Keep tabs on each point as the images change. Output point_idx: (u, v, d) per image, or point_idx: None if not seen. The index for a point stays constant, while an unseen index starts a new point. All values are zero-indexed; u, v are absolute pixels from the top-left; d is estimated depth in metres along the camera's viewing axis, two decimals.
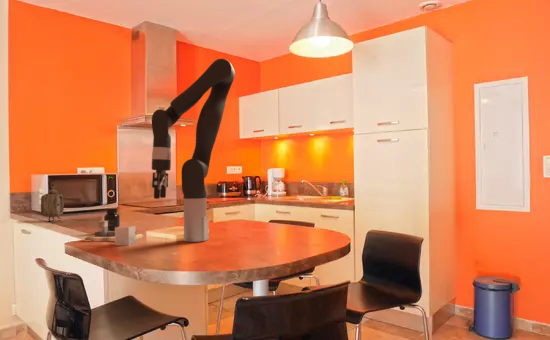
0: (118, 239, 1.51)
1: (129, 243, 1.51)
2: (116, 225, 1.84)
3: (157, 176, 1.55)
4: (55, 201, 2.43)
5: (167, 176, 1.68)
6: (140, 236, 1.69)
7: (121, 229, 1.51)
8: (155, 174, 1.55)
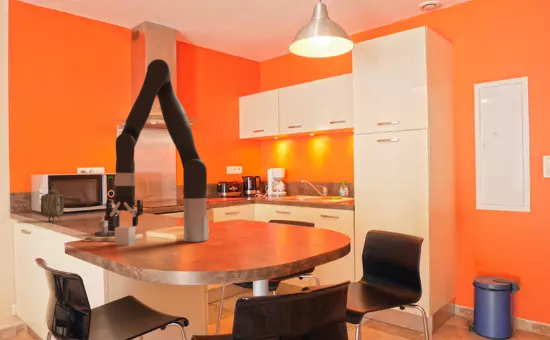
0: (118, 239, 1.51)
1: (129, 243, 1.51)
2: (116, 225, 1.84)
3: (142, 203, 1.54)
4: (55, 201, 2.43)
5: None
6: (140, 236, 1.69)
7: (121, 229, 1.51)
8: (141, 201, 1.53)
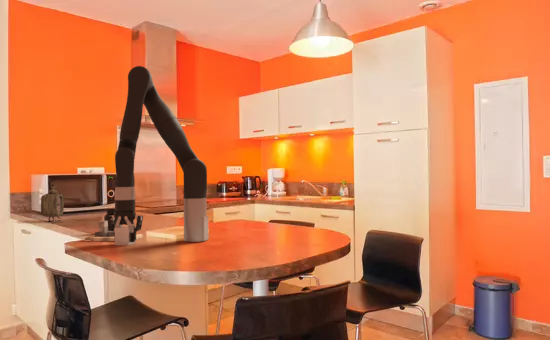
0: (118, 239, 1.51)
1: (129, 243, 1.51)
2: None
3: (142, 219, 1.54)
4: (55, 201, 2.43)
5: None
6: (140, 236, 1.69)
7: (121, 229, 1.51)
8: (141, 217, 1.53)
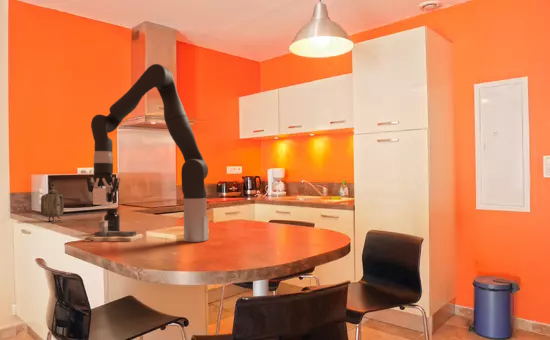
0: (96, 199, 1.64)
1: (106, 203, 1.65)
2: (116, 225, 1.84)
3: (118, 181, 1.67)
4: (55, 201, 2.43)
5: None
6: (140, 236, 1.69)
7: (99, 190, 1.64)
8: (118, 179, 1.66)
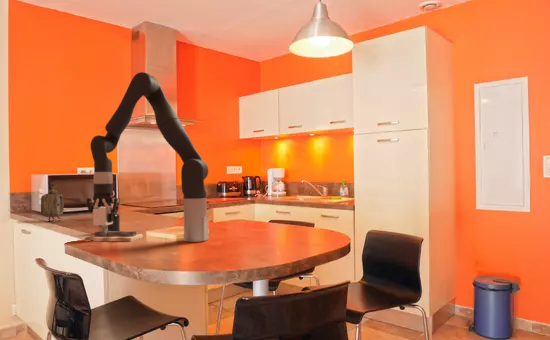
0: (96, 219, 1.65)
1: (106, 223, 1.65)
2: (116, 225, 1.84)
3: (118, 201, 1.68)
4: (55, 201, 2.43)
5: None
6: (140, 236, 1.69)
7: (99, 210, 1.65)
8: (118, 200, 1.67)
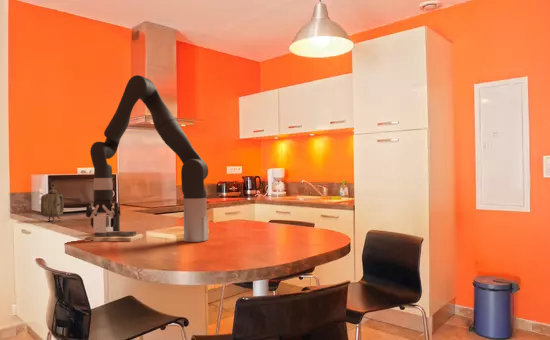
0: (96, 227, 1.65)
1: (106, 230, 1.65)
2: (116, 225, 1.84)
3: (119, 206, 1.68)
4: (55, 201, 2.43)
5: None
6: (140, 236, 1.69)
7: (99, 218, 1.65)
8: (118, 204, 1.67)
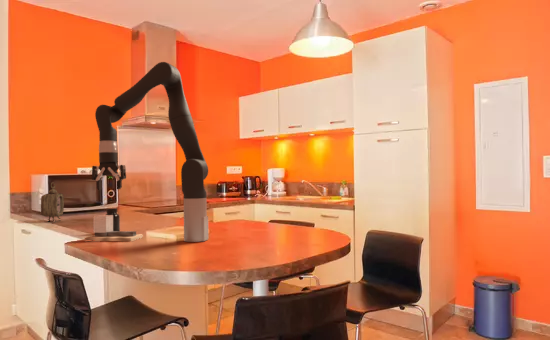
0: (96, 227, 1.65)
1: (106, 230, 1.65)
2: (116, 225, 1.84)
3: (124, 168, 1.69)
4: (55, 201, 2.43)
5: None
6: (140, 236, 1.69)
7: (99, 218, 1.65)
8: (123, 166, 1.69)
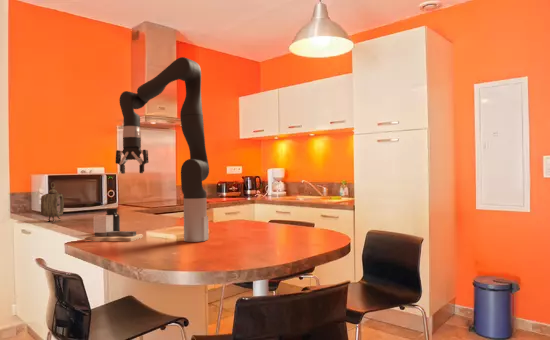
0: (96, 227, 1.65)
1: (106, 230, 1.65)
2: (116, 225, 1.84)
3: (147, 153, 1.75)
4: (55, 201, 2.43)
5: None
6: (140, 236, 1.69)
7: (99, 218, 1.65)
8: (146, 151, 1.75)
